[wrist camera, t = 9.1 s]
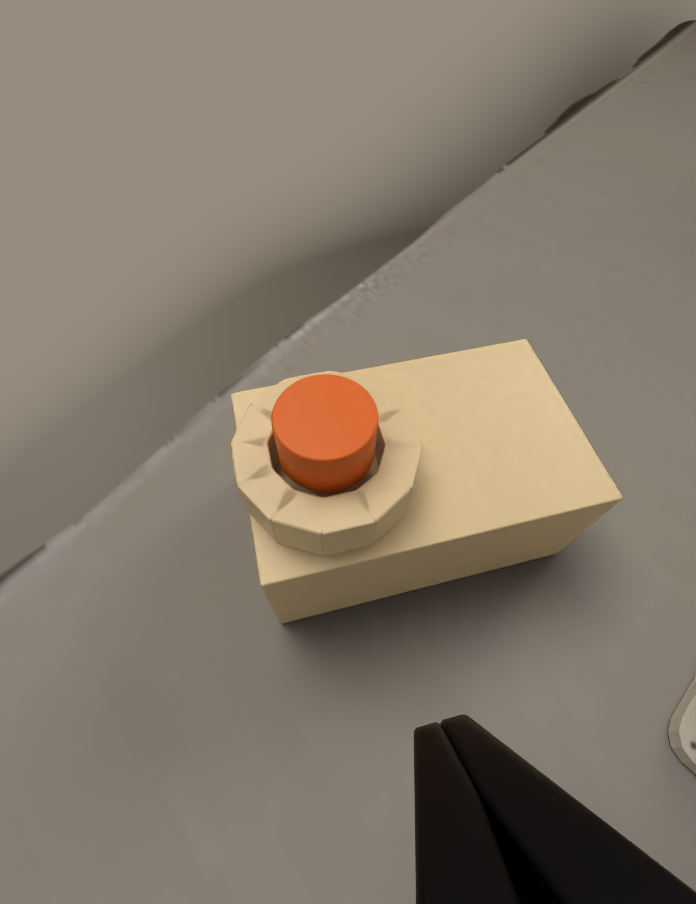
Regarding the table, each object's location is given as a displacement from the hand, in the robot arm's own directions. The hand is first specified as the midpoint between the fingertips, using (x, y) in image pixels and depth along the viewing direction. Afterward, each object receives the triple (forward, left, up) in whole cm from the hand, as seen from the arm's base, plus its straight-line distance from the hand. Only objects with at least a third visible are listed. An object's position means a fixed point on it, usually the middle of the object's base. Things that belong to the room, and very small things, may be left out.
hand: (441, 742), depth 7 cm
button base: (+9, +2, -12) cm, 16 cm away
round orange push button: (+7, +5, -5) cm, 10 cm away
